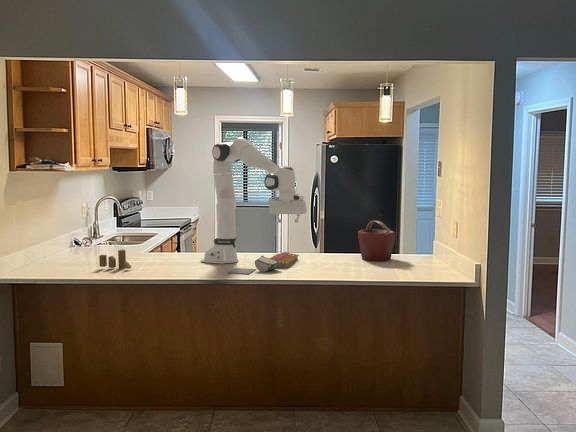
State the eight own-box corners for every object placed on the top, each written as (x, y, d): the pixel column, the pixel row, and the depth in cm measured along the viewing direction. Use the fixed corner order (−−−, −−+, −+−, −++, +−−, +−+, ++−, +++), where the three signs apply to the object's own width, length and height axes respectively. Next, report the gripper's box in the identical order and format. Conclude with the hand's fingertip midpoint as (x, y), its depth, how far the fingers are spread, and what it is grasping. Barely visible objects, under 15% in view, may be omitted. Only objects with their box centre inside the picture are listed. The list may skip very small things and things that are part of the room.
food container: (270, 277, 297) (280, 271, 306) (271, 266, 295) (281, 261, 304) (251, 270, 303) (262, 265, 311) (252, 260, 301) (262, 255, 310)
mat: (227, 273, 294) (227, 272, 294) (234, 269, 308) (234, 268, 308) (248, 274, 292) (248, 273, 292) (255, 270, 305) (255, 268, 305)
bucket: (398, 264, 329) (399, 222, 327) (361, 264, 327) (362, 222, 325) (387, 258, 353) (388, 219, 351) (353, 258, 352) (354, 219, 350)
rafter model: (286, 270, 308) (286, 259, 308) (262, 269, 311) (262, 258, 311) (299, 260, 342) (299, 250, 342) (276, 259, 345) (276, 250, 345)
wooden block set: (98, 270, 301) (97, 252, 300) (104, 266, 310) (104, 248, 308) (129, 271, 300) (129, 253, 298) (135, 267, 308) (135, 249, 306)
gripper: (267, 197, 294) (267, 223, 295) (304, 196, 288) (304, 223, 289) (270, 196, 300) (271, 221, 301) (307, 196, 294) (307, 221, 295)
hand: (288, 222), depth 295 cm, fingers open, 8 cm apart
